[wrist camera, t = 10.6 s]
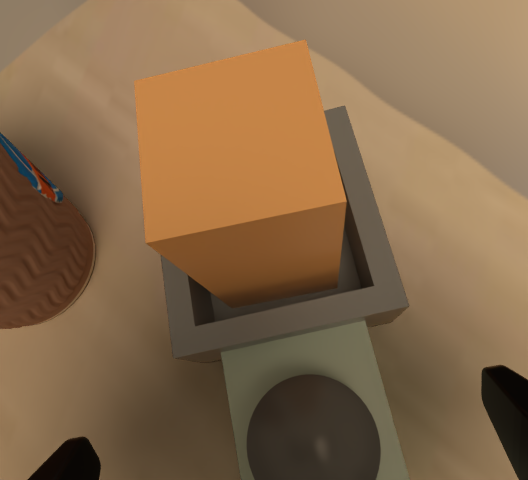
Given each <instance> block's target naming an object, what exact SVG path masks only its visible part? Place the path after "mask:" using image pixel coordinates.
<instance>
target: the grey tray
mask: <svg viewBox="0 0 528 480" xmlns="http://www.w3.org/2000/svg"><path fill="white" fill-rule="evenodd" d="M324 114H325V118H326V122H327V125H328V129H329V133H330V137H331V141H332V145H333V149H334V153H335V157H336V161H337V165H338V169H339V173H340V177H341V181H342V185H343V189H344V192H345V196H346V200H347V203H346V213H345V222H344V231H343V240H342V249H341V258H340V267H339V277H338V286H337V288H336V289H331V290H326V291H321V292H315V293H310V294H305V295H300V296H295V297H289V298H284V299H279V300H274V301H268V302H263V303H258V304H253V305H247V306H242V307H237V308H231V307H230V306H228V305H227V304H226V303H224V302H223V301H222V300H220V299H219V298H218V297H216V296H215V295H214V294H212V293H211V292H210V291H208V290H207V289H206V288H204V287H203V286H202V285H200V284H199V283H198V282H196V281H195V280H194V279H193V278H191V277H190V276H189V275H187V274H186V273H185V272H183V271H182V270H181V269H179V268H178V267H177V266H175V265H174V264H173V263H171V262H170V261H169V260H167V259H166V258H165V257H163V256H162V255H161V261H162V269H163V277H164V286H165V294H166V302H167V311H168V319H169V328H170V336H171V344H172V353H173V358H174V359H181V360H188V361H195V362H202V363H208V362H212V361H217V360H221V359H222V363H223V370H224V376H225V382H226V389H227V395H228V401H229V408H230V414H231V420H232V427H233V433H234V439H235V446H236V452H237V458H238V464H239V471H240V477H241V480H410V478H409V475H408V471H407V468H406V464H405V461H404V457H403V453H402V450H401V446H400V443H399V439H398V436H397V432H396V429H395V425H394V421H393V418H392V414H391V411H390V407H389V404H388V400H387V397H386V393H385V389H384V386H383V382H382V379H381V375H380V372H379V368H378V365H377V361H376V357H375V354H374V350H373V347H372V343H371V340H370V336H369V333H368V329H367V327H372V326H376V325H381V324H386V323H390V322H392V321H393V320H394V319H396V318H397V317H398V316H399V315H400V314H401V313H402V312H403V311H404V310H406V309H407V308H408V307H409V304H408V300H407V297H406V294H405V291H404V288H403V285H402V282H401V279H400V275H399V272H398V269H397V266H396V263H395V260H394V257H393V254H392V251H391V247H390V244H389V241H388V238H387V235H386V232H385V229H384V226H383V223H382V219H381V216H380V213H379V210H378V207H377V204H376V201H375V198H374V195H373V191H372V188H371V185H370V182H369V179H368V176H367V173H366V170H365V167H364V163H363V160H362V157H361V154H360V151H359V148H358V145H357V142H356V138H355V135H354V132H353V129H352V126H351V123H350V120H349V117H348V114H347V110H346V107H345V106H341V107H337V108H333V109H329V110H325V111H324Z"/></svg>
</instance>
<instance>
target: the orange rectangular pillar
mask: <svg viewBox="0 0 528 480" xmlns="http://www.w3.org/2000/svg"><path fill="white" fill-rule="evenodd" d="M134 85H135V99H136V114H137V128H138V142H139V156H140V170H141V184H142V198H143V212H144V226H145V240H146V244H148V245H149V246H150V247H152V248H153V249H154V250H156V251H157V252H158V253H159V254H161V255H162V256H163V257H165V258H166V259H167V260H169V261H170V262H171V263H173V264H174V265H175V266H177V267H178V268H179V269H181V270H182V271H183V272H185V273H186V274H187V275H189V276H190V277H191V278H193V279H194V280H195V281H196V282H198V283H199V284H200V285H202V286H203V287H204V288H206V289H207V290H208V291H210V292H211V293H212V294H214V295H215V296H216V297H218V298H219V299H220V300H222V301H223V302H224V303H226V304H227V305H228V306H230V307H231V308H237V307H242V306H247V305H253V304H258V303H263V302H268V301H274V300H279V299H284V298H289V297H295V296H300V295H305V294H310V293H315V292H321V291H326V290H331V289H336V288H337V286H338V277H339V267H340V258H341V249H342V240H343V231H344V222H345V213H346V203H347V200H346V196H345V192H344V189H343V185H342V181H341V177H340V173H339V169H338V165H337V161H336V157H335V153H334V149H333V145H332V141H331V137H330V133H329V129H328V125H327V122H326V118H325V114H324V110H323V106H322V102H321V98H320V94H319V90H318V86H317V82H316V78H315V74H314V70H313V66H312V62H311V58H310V55H309V51H308V47H307V43H306V40H302V41H298V42H294V43H290V44H285V45H281V46H277V47H273V48H269V49H265V50H261V51H256V52H252V53H248V54H244V55H240V56H236V57H232V58H227V59H223V60H219V61H215V62H211V63H207V64H203V65H198V66H194V67H190V68H186V69H182V70H178V71H174V72H169V73H165V74H161V75H157V76H153V77H149V78H145V79H140V80H136V81H134Z"/></svg>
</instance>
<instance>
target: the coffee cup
mask: <svg viewBox="0 0 528 480" xmlns="http://www.w3.org/2000/svg"><path fill="white" fill-rule="evenodd" d="M94 261H95V243H94V238H93V234H92V232H91V230H90V228H89V226H88V224H87V223H86V222H85V220H84V219H83V217H82V216H81V215H80V214H79V213H78V210H77V209H76V208H75V207H74V206H73V205H72V203H71V202H70V201H68V200H67V199H66V198H65V197H64V196H63V193H62V192H61V191H60V190H59V189H58V188H57V187H56V186H55V185H54V184H52V182H51V181H50V180H49V179H48V178H47V177H46V176H45V175H44V174H43V173H42V172H41V171H40V170H38V168H37V167H35V166H34V165H33V164H32V163H31V162H30V161H29V160H28V159H27V158H26V157H25V156H24V155H23V154H22V153H21V152H20V151H19V150H18V149H17V148H16V147H15V146H14V145H13V144H12V143H11V142H10V141H9V140H8V139H6V138H5V137H4V136H3V135H2V134H1V133H0V329H11V328H20V327H22V326H29V325H34V324H40V323H43V322H45V321H48V320H50V319H53V318H54V317H56V316H57V315H59V314H61V313H62V312H64V311H65V310H66V309H67V308H68V307H70V306H71V305H72V304H73V303H74V302H75V300H76V299H77V298H78V297H79V296H80V295H81V293H82V292H83V290H84V288H85V287H86V285H87V283H88V281H89V279H90V276H91V273H92V271H93V267H94Z"/></svg>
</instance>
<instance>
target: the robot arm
mask: <svg viewBox="0 0 528 480" xmlns="http://www.w3.org/2000/svg"><path fill="white" fill-rule="evenodd" d="M481 395H482V401H483V404H484V407H485V409H486V411H487V413H488V415H489V417H490V420H491V422H492V424H493V426H494V428H495V430H496V432H497V435H498V437H499V439H500V441H501V443H502V445H503V447H504V450H505V452H506V454H507V456H508V458H509V460H510V462H511V465H512V467H513V469H514V471H515V473H516V475H517V477H518V479H519V480H528V380H527V379H526V378H524V377H522V376H521V375H519V374H518V373H516V372H514V371H513V370H511V369H509V368H508V367H506V366H503V365H496V366H491V367H485V368H483V370H482V389H481ZM100 470H101V464H100V460H99V457H98V456H97V454H96V452H95V450H94V449H93V447H92V445H91V443H90V442H89V440H88V439H87V438H86V437H78V438H72V439H68V440H67V441H65V442H64V443H63V444H62V445H61V446H60V447H59V448H58V449H57V450H56V451H55V452H54V453H53V454H52V455H51V456H50V457H49V458H48V459H47V460H46V461H45V462H44V463H43V464H42V465H41V466H40V467H39V468H38V469H37V470H36V471H35V472H34V473H33V474H32V476H31V477H30V478H29V479H28V480H99V476H100Z"/></svg>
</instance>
